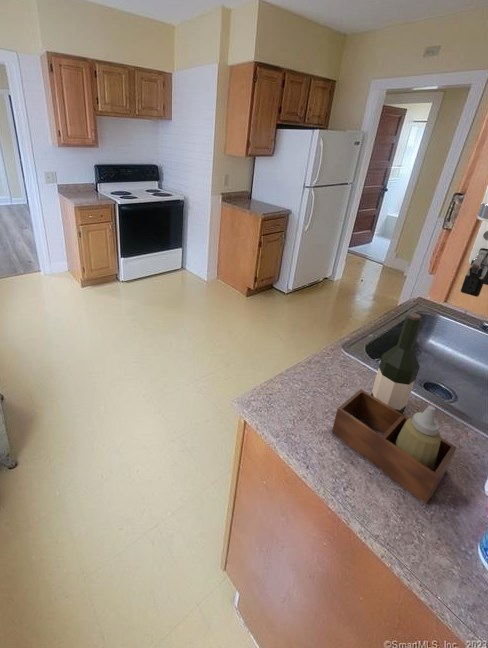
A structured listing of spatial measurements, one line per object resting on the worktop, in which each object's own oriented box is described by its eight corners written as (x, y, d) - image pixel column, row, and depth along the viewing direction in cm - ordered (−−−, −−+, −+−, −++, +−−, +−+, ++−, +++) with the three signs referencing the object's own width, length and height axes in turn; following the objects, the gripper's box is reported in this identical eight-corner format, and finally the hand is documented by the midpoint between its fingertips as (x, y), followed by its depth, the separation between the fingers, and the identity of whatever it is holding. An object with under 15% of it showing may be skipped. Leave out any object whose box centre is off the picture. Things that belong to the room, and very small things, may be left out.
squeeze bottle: (438, 486, 69) (466, 424, 62) (400, 485, 69) (424, 423, 62) (415, 452, 76) (438, 393, 70) (381, 451, 76) (401, 392, 70)
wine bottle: (409, 420, 85) (444, 323, 74) (381, 423, 84) (413, 325, 72) (388, 396, 93) (416, 305, 81) (362, 399, 91) (387, 307, 80)
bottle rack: (445, 472, 72) (457, 447, 69) (426, 504, 65) (437, 477, 62) (354, 411, 87) (360, 388, 84) (331, 432, 81) (337, 408, 78)
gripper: (517, 223, 59) (486, 305, 65) (533, 212, 69) (505, 284, 75) (468, 216, 64) (443, 292, 71) (489, 206, 75) (466, 274, 81)
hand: (475, 288), depth 73 cm, fingers open, 9 cm apart
